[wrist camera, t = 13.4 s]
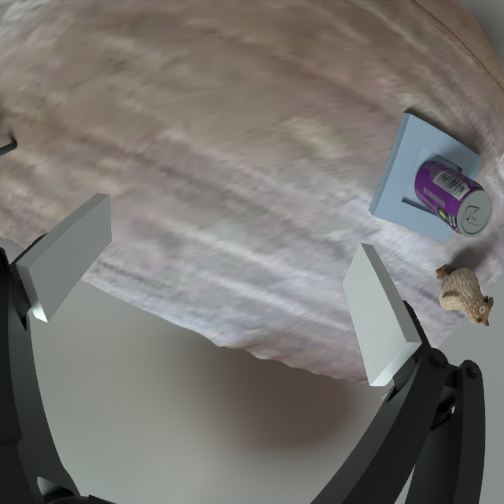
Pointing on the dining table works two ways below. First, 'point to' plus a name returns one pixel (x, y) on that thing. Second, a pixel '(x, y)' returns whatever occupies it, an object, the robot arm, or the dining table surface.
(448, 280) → the figurine
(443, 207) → the beverage can
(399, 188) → the baseplate
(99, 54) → the dining table surface
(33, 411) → the robot arm
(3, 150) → the potted plant
